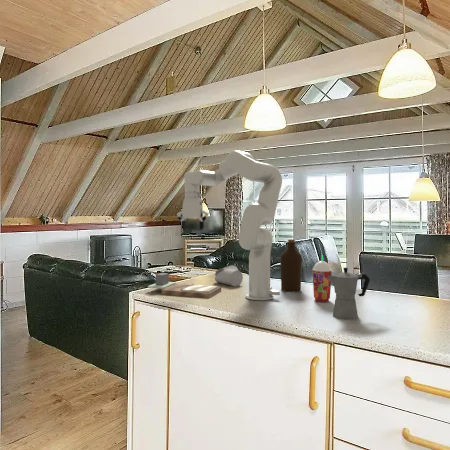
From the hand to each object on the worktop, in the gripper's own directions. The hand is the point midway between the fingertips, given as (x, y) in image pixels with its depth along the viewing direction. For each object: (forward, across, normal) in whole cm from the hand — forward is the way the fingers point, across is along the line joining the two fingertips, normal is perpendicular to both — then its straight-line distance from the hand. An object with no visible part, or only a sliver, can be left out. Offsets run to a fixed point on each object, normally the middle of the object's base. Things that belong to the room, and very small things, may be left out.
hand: (192, 229), depth 192 cm
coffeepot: (+31, -76, +33) cm, 88 cm away
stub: (+27, +11, +13) cm, 32 cm away
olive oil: (+30, -49, -7) cm, 58 cm away
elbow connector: (+30, -14, -18) cm, 38 cm away
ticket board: (+30, -5, +13) cm, 33 cm away
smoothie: (+31, -65, +11) cm, 73 cm away
